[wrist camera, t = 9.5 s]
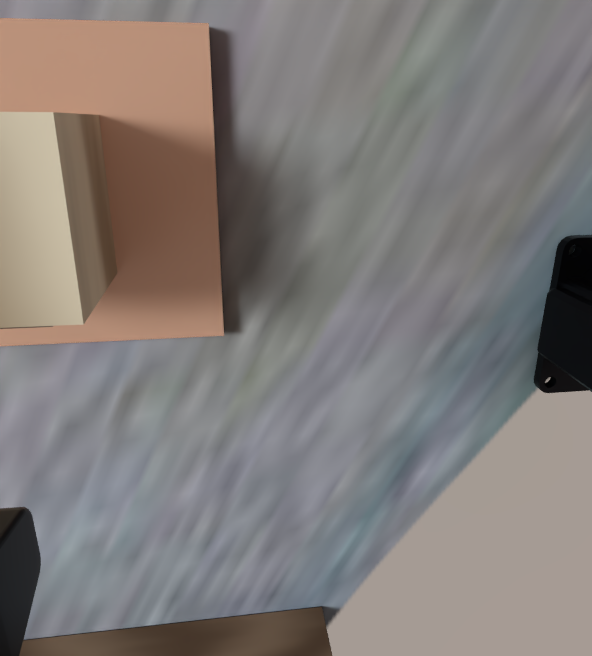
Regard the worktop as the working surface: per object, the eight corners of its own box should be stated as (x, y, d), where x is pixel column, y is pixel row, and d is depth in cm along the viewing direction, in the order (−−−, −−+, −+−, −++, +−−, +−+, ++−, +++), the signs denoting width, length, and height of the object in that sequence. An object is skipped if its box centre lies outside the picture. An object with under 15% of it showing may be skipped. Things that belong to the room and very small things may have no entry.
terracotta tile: (208, 26, 17) (208, 23, 16) (223, 329, 20) (223, 335, 20) (-226, 16, 15) (-243, 11, 15) (-127, 345, 19) (-137, 352, 18)
